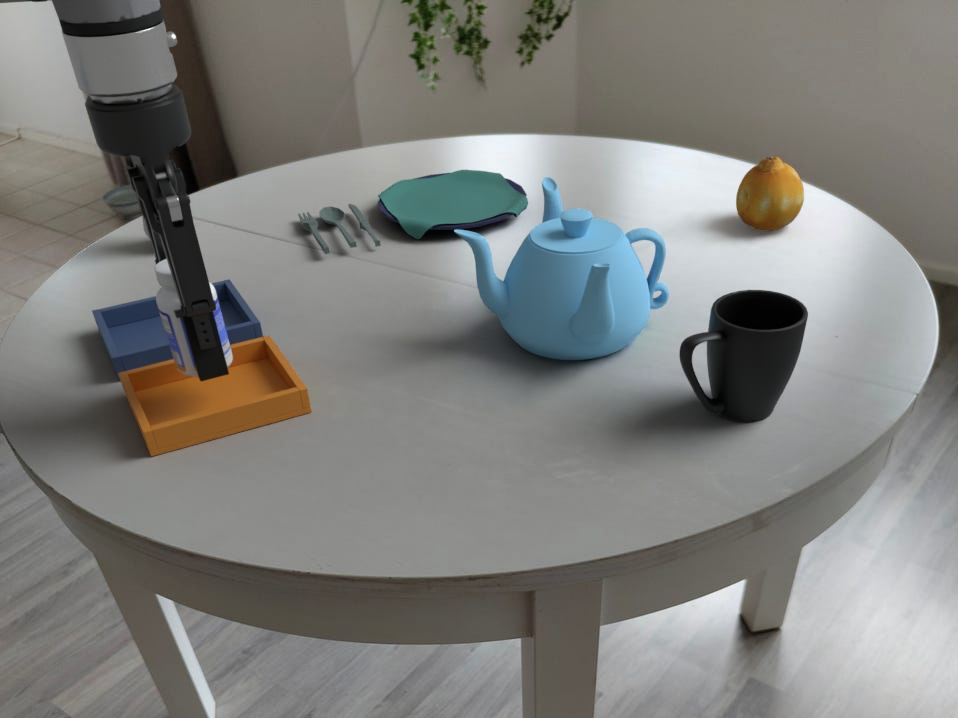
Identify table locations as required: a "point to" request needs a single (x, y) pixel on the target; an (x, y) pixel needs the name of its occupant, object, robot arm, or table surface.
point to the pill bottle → (175, 326)
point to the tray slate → (143, 335)
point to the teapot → (572, 283)
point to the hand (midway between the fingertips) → (206, 361)
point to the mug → (747, 352)
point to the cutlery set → (434, 204)
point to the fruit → (770, 195)
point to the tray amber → (214, 397)
